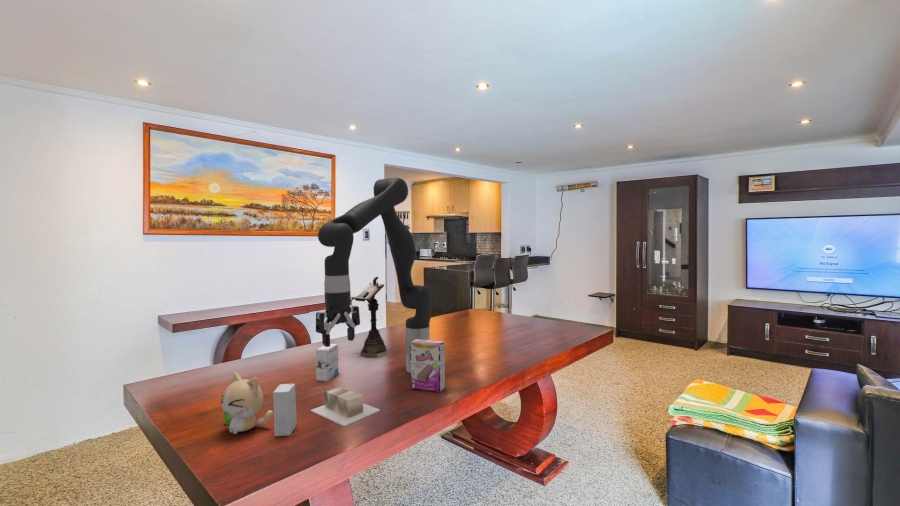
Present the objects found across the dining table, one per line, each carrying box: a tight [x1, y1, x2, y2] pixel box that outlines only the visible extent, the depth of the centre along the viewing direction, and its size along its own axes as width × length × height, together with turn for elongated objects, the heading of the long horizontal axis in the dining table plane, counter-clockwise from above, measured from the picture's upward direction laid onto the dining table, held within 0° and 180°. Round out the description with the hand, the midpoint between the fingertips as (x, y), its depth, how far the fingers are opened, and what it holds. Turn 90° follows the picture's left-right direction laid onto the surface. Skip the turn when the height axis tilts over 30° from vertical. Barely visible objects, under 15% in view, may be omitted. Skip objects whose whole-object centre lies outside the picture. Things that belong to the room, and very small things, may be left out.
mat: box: [310, 402, 381, 428], centre depth 124 cm, size 16×13×1 cm
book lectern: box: [351, 276, 388, 359], centre depth 181 cm, size 17×13×35 cm
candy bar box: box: [410, 339, 446, 393], centre depth 141 cm, size 11×5×16 cm, turn 71°
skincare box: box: [272, 383, 298, 437], centre depth 112 cm, size 6×4×12 cm
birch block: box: [324, 386, 364, 418], centre depth 124 cm, size 5×5×12 cm
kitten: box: [220, 371, 274, 435], centre depth 113 cm, size 15×10×15 cm
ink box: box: [315, 343, 339, 382], centre depth 154 cm, size 9×5×12 cm, turn 168°
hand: (339, 343), depth 125 cm, fingers open, 8 cm apart
